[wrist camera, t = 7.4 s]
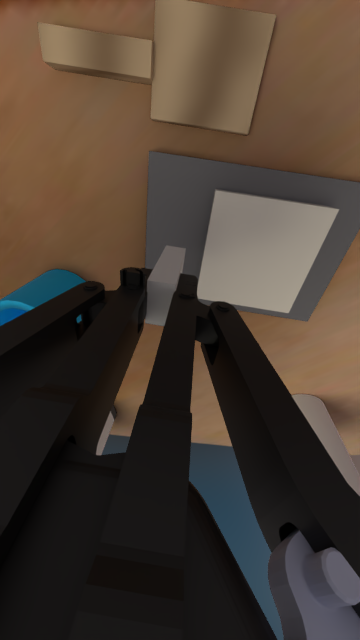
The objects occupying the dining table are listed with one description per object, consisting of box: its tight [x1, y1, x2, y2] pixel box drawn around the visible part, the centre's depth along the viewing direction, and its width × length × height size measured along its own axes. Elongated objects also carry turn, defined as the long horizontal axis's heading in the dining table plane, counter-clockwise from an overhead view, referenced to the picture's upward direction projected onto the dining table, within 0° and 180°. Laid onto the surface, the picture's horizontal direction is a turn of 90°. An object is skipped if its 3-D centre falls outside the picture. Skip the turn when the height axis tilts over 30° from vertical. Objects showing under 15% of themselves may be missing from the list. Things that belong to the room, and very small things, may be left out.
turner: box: [37, 0, 276, 136], centre depth 16 cm, size 16×6×2 cm, turn 82°
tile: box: [197, 189, 339, 313], centre depth 21 cm, size 2×10×10 cm
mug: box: [0, 269, 86, 326], centre depth 27 cm, size 12×8×8 cm
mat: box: [145, 151, 360, 321], centre depth 23 cm, size 20×14×1 cm
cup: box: [291, 394, 360, 496], centre depth 31 cm, size 8×8×16 cm
